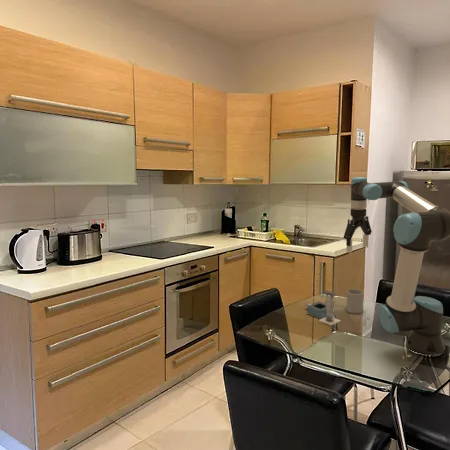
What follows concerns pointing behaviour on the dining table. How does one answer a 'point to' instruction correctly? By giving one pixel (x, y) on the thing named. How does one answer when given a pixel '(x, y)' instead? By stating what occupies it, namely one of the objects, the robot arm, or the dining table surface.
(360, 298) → the mug
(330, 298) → the key
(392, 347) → the dining table surface
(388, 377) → the dining table surface
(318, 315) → the grey-blue open box
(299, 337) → the dining table surface
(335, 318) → the mat
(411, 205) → the robot arm
